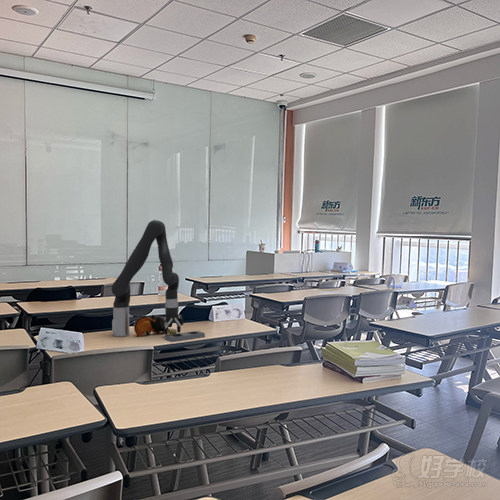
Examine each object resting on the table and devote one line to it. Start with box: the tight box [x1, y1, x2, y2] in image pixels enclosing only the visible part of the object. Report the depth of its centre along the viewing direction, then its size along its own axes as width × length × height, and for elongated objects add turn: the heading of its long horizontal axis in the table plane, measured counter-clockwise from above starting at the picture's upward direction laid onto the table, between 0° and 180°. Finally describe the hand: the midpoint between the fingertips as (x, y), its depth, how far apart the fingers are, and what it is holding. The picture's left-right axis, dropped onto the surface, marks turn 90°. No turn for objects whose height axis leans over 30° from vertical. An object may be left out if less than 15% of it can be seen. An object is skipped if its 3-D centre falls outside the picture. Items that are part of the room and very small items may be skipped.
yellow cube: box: [167, 327, 177, 335], centre depth 294 cm, size 4×4×4 cm
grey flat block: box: [164, 330, 206, 343], centre depth 289 cm, size 22×8×2 cm, turn 128°
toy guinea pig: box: [133, 314, 174, 338], centre depth 301 cm, size 8×23×15 cm, turn 126°
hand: (172, 333), depth 294 cm, fingers open, 8 cm apart
